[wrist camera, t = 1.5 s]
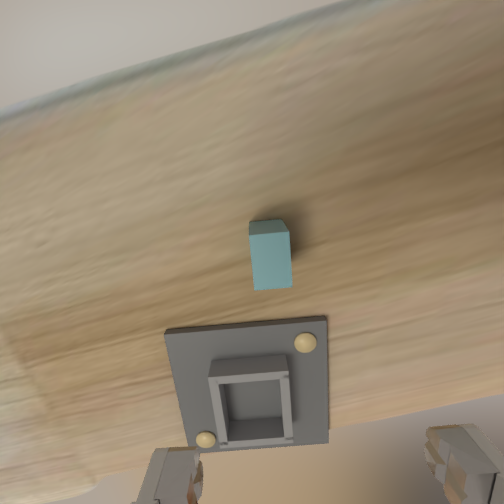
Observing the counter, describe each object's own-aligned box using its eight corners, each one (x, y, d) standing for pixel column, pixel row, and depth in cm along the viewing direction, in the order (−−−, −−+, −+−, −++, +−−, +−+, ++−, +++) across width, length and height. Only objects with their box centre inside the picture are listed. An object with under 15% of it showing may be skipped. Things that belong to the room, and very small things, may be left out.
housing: (324, 315, 37) (333, 334, 33) (326, 435, 44) (334, 464, 40) (166, 329, 38) (155, 349, 34) (191, 446, 44) (185, 475, 40)
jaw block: (281, 218, 34) (289, 231, 27) (284, 264, 35) (292, 287, 29) (249, 221, 34) (248, 235, 27) (253, 267, 35) (254, 290, 29)
